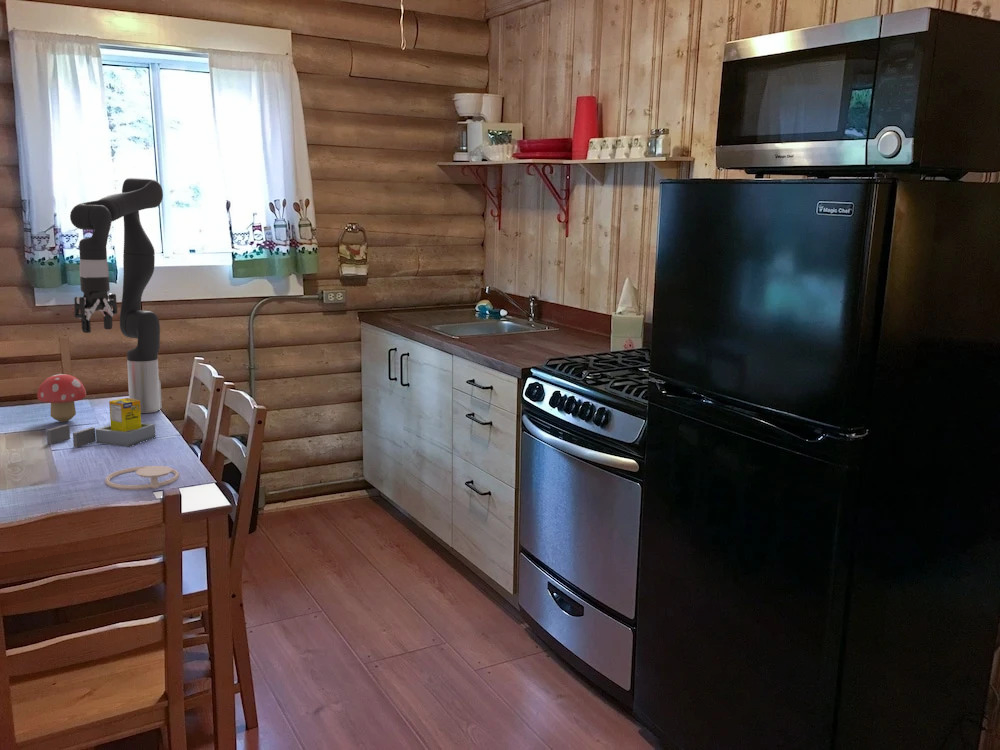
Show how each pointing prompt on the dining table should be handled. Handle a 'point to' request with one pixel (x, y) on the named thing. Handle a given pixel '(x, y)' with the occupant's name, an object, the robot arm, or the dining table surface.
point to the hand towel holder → (144, 471)
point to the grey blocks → (64, 433)
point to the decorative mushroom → (61, 395)
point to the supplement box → (125, 414)
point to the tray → (125, 435)
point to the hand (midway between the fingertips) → (97, 330)
